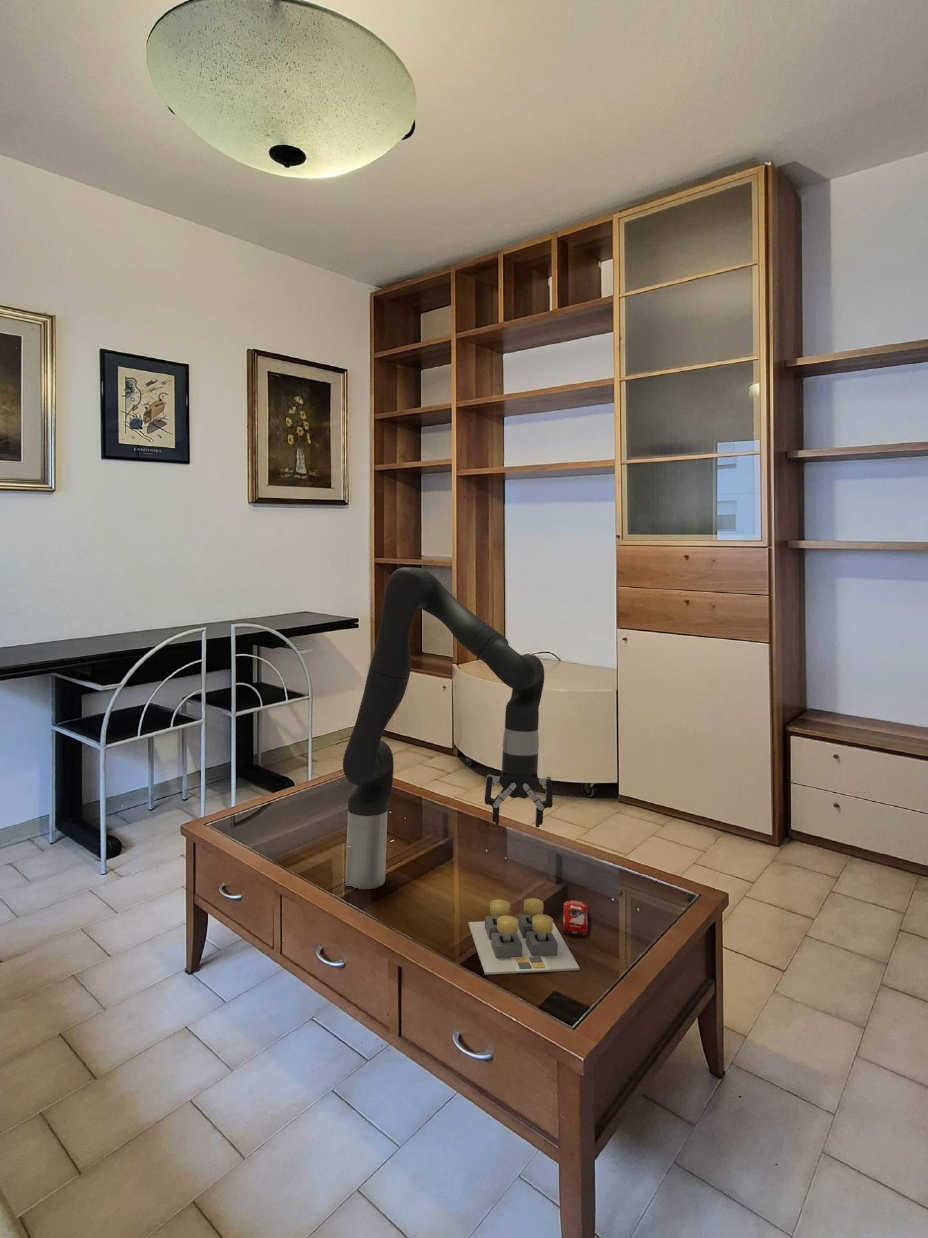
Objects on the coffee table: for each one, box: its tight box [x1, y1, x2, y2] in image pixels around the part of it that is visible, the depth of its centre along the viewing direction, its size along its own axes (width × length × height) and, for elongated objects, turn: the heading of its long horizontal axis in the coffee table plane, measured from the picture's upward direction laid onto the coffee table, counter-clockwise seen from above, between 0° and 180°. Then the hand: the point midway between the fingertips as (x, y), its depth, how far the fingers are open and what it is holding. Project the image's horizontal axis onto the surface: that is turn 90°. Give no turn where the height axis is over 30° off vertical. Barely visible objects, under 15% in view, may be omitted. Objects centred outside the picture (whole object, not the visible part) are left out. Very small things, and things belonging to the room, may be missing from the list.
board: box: [467, 914, 581, 975], centre depth 140 cm, size 18×19×3 cm
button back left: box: [489, 898, 511, 925], centre depth 143 cm, size 4×4×4 cm
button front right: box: [532, 913, 554, 941], centre depth 138 cm, size 4×4×4 cm
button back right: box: [523, 897, 544, 924], centre depth 145 cm, size 4×4×4 cm
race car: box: [562, 900, 590, 937], centre depth 150 cm, size 13×5×4 cm, turn 169°
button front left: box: [497, 915, 518, 943], centre depth 137 cm, size 4×4×4 cm
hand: (517, 825), depth 150 cm, fingers open, 8 cm apart
